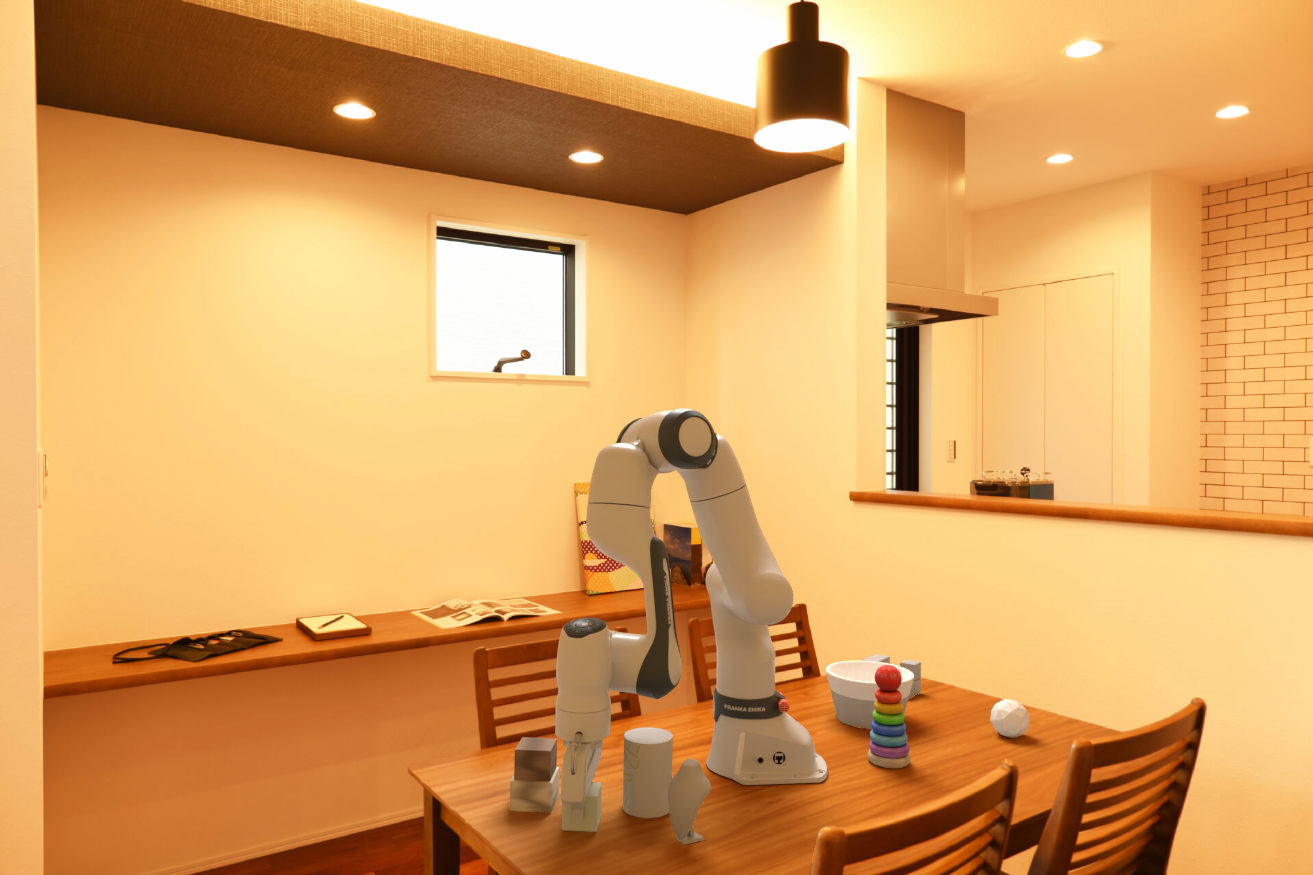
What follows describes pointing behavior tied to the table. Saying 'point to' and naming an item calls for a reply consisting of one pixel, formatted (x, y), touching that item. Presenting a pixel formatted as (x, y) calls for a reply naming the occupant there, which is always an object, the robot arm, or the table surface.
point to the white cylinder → (647, 772)
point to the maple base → (534, 794)
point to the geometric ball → (1010, 718)
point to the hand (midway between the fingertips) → (581, 809)
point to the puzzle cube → (908, 664)
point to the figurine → (687, 799)
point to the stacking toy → (888, 722)
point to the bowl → (860, 690)
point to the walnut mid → (535, 759)
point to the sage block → (591, 812)
